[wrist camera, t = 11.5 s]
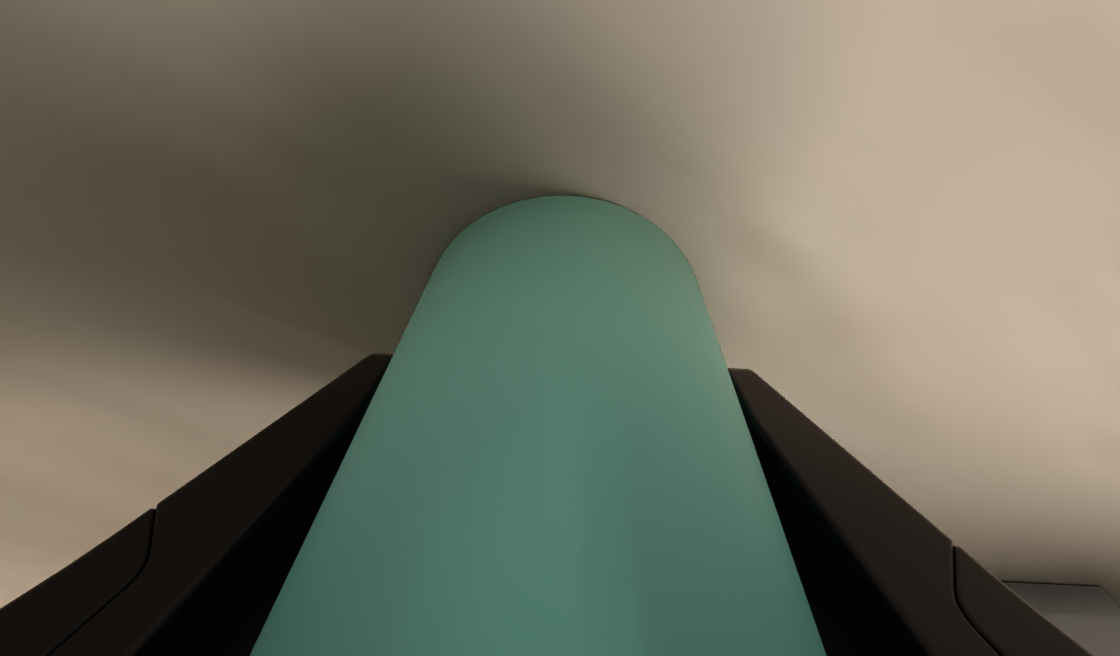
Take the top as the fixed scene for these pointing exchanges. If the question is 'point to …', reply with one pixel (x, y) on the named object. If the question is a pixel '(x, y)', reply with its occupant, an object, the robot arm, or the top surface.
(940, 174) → the top surface
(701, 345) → the teal capsule
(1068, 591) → the grey rectangular tray
